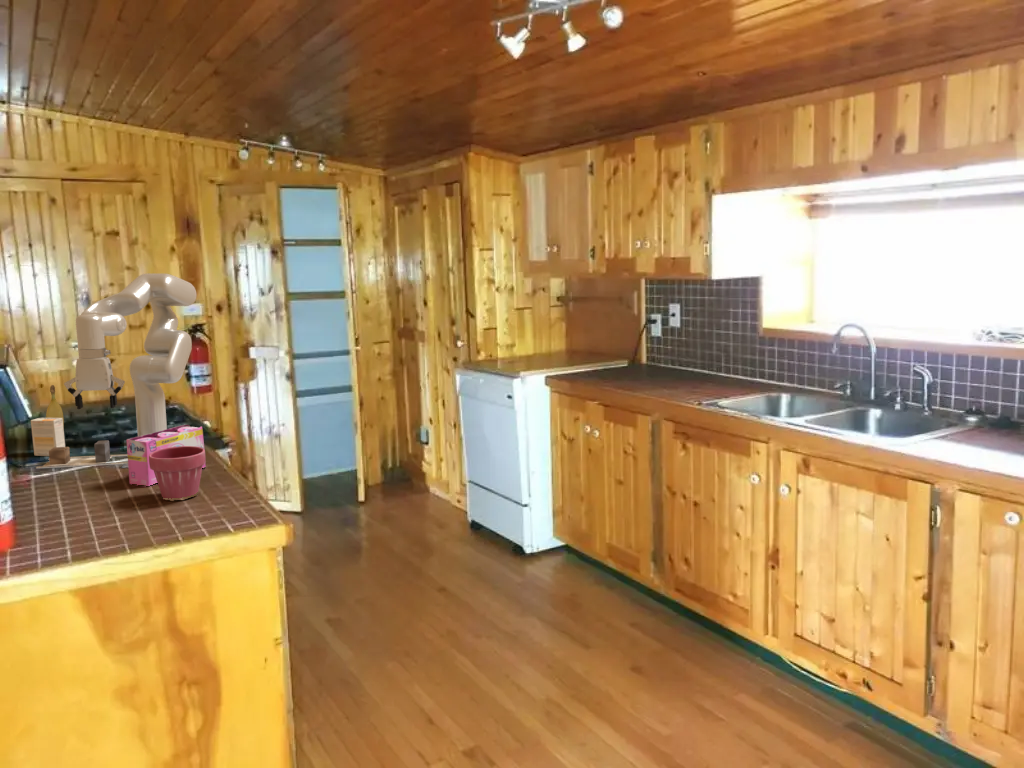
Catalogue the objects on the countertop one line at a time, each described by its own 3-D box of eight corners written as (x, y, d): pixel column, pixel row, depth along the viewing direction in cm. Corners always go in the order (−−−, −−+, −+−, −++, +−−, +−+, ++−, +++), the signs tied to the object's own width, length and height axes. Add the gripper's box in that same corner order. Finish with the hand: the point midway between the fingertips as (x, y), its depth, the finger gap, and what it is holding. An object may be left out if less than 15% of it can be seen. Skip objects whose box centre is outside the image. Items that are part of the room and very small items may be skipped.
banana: (58, 451, 270) (53, 393, 266) (39, 453, 267) (33, 394, 264) (67, 437, 290) (62, 383, 287) (48, 439, 288) (43, 384, 285)
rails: (149, 457, 262) (149, 453, 261) (140, 466, 250) (140, 462, 250) (49, 462, 255) (49, 457, 255) (36, 472, 244) (35, 467, 243)
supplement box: (66, 456, 263) (63, 417, 261) (57, 459, 259) (53, 420, 257) (43, 455, 264) (40, 417, 262) (33, 459, 260) (30, 419, 257)
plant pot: (147, 506, 211) (144, 459, 209) (156, 491, 224) (153, 447, 222) (204, 502, 214) (202, 456, 212) (209, 487, 228) (207, 444, 226)
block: (70, 460, 253) (69, 446, 252) (65, 464, 249) (64, 450, 248) (54, 461, 252) (53, 447, 251) (49, 464, 248) (48, 450, 247)
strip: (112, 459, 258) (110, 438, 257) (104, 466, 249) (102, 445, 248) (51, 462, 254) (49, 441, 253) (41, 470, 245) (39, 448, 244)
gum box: (190, 465, 253) (187, 423, 251) (209, 467, 250) (207, 425, 248) (128, 484, 231) (125, 439, 229) (148, 487, 228) (145, 441, 226)
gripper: (125, 352, 253) (129, 404, 255) (66, 353, 249) (71, 406, 252) (118, 355, 245) (122, 409, 248) (57, 356, 242) (62, 411, 245)
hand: (96, 407), depth 250 cm, fingers open, 9 cm apart
